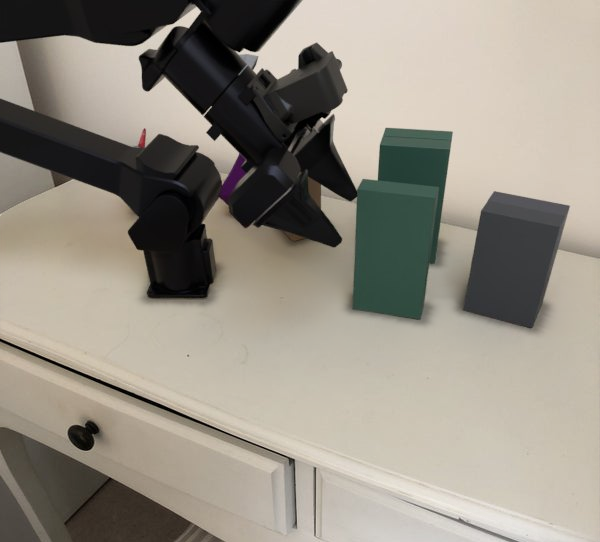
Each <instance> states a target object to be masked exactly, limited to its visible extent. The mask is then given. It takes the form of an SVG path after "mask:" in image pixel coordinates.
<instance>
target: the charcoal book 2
mask: <svg viewBox="0 0 600 542" xmlns="http://www.w3.org/2000/svg"><path fill="white" fill-rule="evenodd" d="M487 201H493V202H498V203H503V204H508V205H513V206H518V207H523V208H528V209H533V210H538V211H543V212H548V213H553V214H558V215H563V216H565V219H564V223H563V227H562V230H561V234H560V237H559V241H558V244H557V248H556V251H555V255H554V259H553V262H552V266H551V269H550V273H549V276H548V280H547V283H546V287H545V291H544V294H543V298H542V301H541V305H540V308H539V312H538V314H539V313H540V311H541V310H542V309H541V308H542V306H543V303H544V299H545V296H546V292H547V290H548V287H549V286H548V285H549V282H550V278H551V275H552V271H553V269H554V264H555V261H556V257H557V255H558V250H559V247H560V243H561V240H562V236H563V232H564V228H565V225H566V222H567V218H568V215H569V212H570V208H571V206H570V205H569V204H563V203H559V202H554V201H549V200H548V201H547V200H544V199H538V198H532V197H527V196H521V195H518V194H517V195H516V194H511V193H507V192H501V191H496V190H494V191H493V192H492V193H491V195H490V196H489V198H488V199H487Z"/></svg>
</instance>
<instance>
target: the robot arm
mask: <svg viewBox="0 0 600 542" xmlns="http://www.w3.org/2000/svg"><path fill="white" fill-rule="evenodd" d="M303 1H304V0H0V44H2V43H13V42H19V41H20V42H21V41H29V40H36V39H44V38H45V39H46V38H53V37H61V36H66V37H75V38H76V37H77V38H80V39H83V40H86V41H88V42H91V43H95V44H102V45H110V46H111V45H114V46H121V47H122V46H124V47H136V46H139V45H142V44H144V43H146V42H147V41H148V40H150V39H151V38H152V37H154V36H155V35H156V34H157V33H159V32H161V31H162V30H164V29H165V28H166V27H167V26H171V25H174V24H176V23H177V22H179V20H181V19H182V18H184V17H185V16H186V15H187V14H189V13H190V12H192V11H193V10H194V9H196V8H197V9H198V10H199V11H200V12H199V14H198V15H197V16H196V18H195V19H194V20H193V22H192V23H191V24H190V25H189V27H186V26H183V25H177V26H174V27H172V29H170V31H169V32H168V33H167V35H166V37H165V38H164V39H163V41H162V42H161V44H160V45H159V46H158V47H157V48H156V49H152V48H148V49H146V50H145V51H144V52H142V53H141V54H140V55H139V56H138V61H139V64H140V68H141V69H140V70H141V88H142V90H143V91H145V92H150V91H152V90H153V89H154V88H155V87H156V86H158V84H160V83H161V82H162V81H163V80H164V79H166V80H167V81H168V82H169V83H170V84H171V85H172V86H173V87H174V88H175V89H176V91H178V92H179V93H180V94H181V95H182V96H183V97H184V98H185V99H186V101H188V103H189V104H191V106H192V107H193V108H194V109H195V110H197V111H198V113H199V114H200V115H201V116H203V118H204V119H205V120H206V121H207V122H208V123H209V124H210V125H211V126H210V127H209V128H208V129H207V130H206V132H205V133H206V134H207V135H208V136H209V137H210V138H211V140H213V141H214V142H216V140H218V138H219V137H220V136H222V138H224V140H226V142H228V143H229V144H230V146H231V147H233V149H234V150H235V151H237V153H238V154H239V153H240V154H241V155H242V156H243V158H244V159H245V162H244V163H243V165H242V166H241V168H242V169H243V170H244V172H245V173H246V175H245V176H244V177H243V178H242V179H241V180H240V181H239V182H238V183H237V185H236V186H235V188H234V189H233V191H232V193H231V194H230V196H229V197H228V205H227V206H228V214H229V215H230V216H232V217H233V218H234V219H235V220H236V221H237V222H238V223H239V224H240V225H241V226H242V227H243V228H244V229H247V228H249V227H250V226H251V225H253V226H254V227H255V228H257V229H259V228H261V227H262V226H263V227H267V228H270V229H274V230H278V231H282V232H284V231H285V232H289V233H292V234H295V235H298V236H301V237H304V238H303V239H307V240H310V241H312V242H316V243H319V244H322V245H325V246H328V247H331V248H332V249H333V248H337V247H338V246H339V245H341V244H342V242H343V237H342V235H341V234H340V233H339V231H338V230H337V228H336V226H335V225H334V224H333V223H332V222H331V220H330V219H329V217H328V216H327V215H326V213H325V212H324V211H323V210H322V207H321V208H320V207H319V206H318V205H317V203H316V202H315V201H314V199H313V198H312V197H311V196H310V194H309V191H308V177H310V178H311V179H313V180H314V181H316V182H318V183H319V184H321V187H324V188H326V189H328V190H329V191H331V192H332V193H334V194H336V195H337V196H339V197H341V198H342V199H345V200H346V201H348V202H353V200H355V199H357V188H356V186H355V184H354V182H353V180H352V177H351V176H350V174H349V172H348V170H347V167H346V165H345V164H344V161H343V160H342V158H341V156H340V153H339V152H338V150H337V147H336V145H335V143H334V130H335V121H336V116H335V113H332V111H333V110H335V109H337V108H339V107H340V106H341V105H342V104H343V101H344V98H343V97H344V95H345V94H347V93H348V90H349V89H348V87H347V85H346V82H345V80H344V77H343V74H342V71H341V70H342V67H343V62H342V60H340V59H339V58H336V56H335V53H334V51H333V50H331V51H330V52H328V51H327V50H326V49H325V48H324V47H323V46H322V45H320V44H319V42H315V43H312V44H310V45H308V46H306V47H304V48H303V49H301V51H300V52H299V54H298V59H297V68H294V69H291V71H290V72H289V73H287V74H285V75H283V76H282V77H279V78H277V77H275V75H274V74H273V73H272V72H271V71H270V70H269V69H266V68H265V69H264V68H263V67H261V69H260V70H259V71H258V72H257V73H256V72H255V71H254V69H253V70H252V69H251V68H250V67H249V65H248V66H247V67H246V68H245V66H246V65H247V63H246V62H245V61H244V60H243V59H242V58H241V57H240V56H239V55H240V54H239V53H241V52H243V51H244V50H246V51H248V52H250V53H251V52H252V53H258V52H260V51H261V50H262V49H263V47H265V45H266V44H267V43H268V41H269V40H270V39H271V38H272V37H273V36H274V35H275V34H276V32H277V31H279V29H280V27H281V26H282V25H283V24H284V23H285V22H286V20H287V19H288V18H290V16H291V15H292V14H293V12H294V11H295V10H296V9H297V8H298V7H299V5H300V4H301V3H302V2H303ZM244 68H245V69H244ZM243 69H244V70H243ZM242 70H243V71H242ZM241 71H242V72H241ZM240 72H241V74H240ZM239 74H240V75H239ZM331 113H332V114H331ZM321 119H325V120H324V122H323V120H321ZM131 146H132V145H128V144H125V143H122V142H120V141H117V140H115V139H111V138H109V137H106V136H103V135H100V134H98V133H95V132H93V131H91V130H87V129H84V128H82V127H79V126H76V125H74V124H71V123H69V122H66V121H63V120H60V119H58V118H56V117H51V116H49V115H47V114H44V113H42V112H38V111H35V110H32V109H30V108H27V107H24V106H23V105H22V106H21V105H19V104H16V103H13V102H11V101H9V100H7V99H3V98H0V153H1V154H2V155H6V156H9V157H12V158H15V159H17V160H20V161H22V162H25V163H28V164H31V165H33V166H36V167H39V168H41V169H45V170H47V171H51V172H53V173H55V174H58V175H61V176H64V177H66V178H69V179H71V180H74V181H78V182H80V183H83V184H85V185H89V186H91V187H94V188H96V189H100V190H102V191H105V192H107V193H110V194H113V195H114V196H115V195H116V196H117V197H119V198H120V199H121V200H122V201H123V203H125V205H126V206H127V207H128V208H129V209H130V210H131V211H132V213H134V214H135V215H136V217H138V218H137V219H136V220H135V221H134V222H133V224H132V225H131V226H130V227H129V229H127V235H128V236H129V238H130V240H131V242H132V244H133V245H134V247H135V248H136V250H138V251H142V252H143V257H144V263H145V265H146V270H147V276H148V281H149V285H148V288H147V290H146V297H147V298H149V299H206V298H207V297H208V296H209V292H210V289H211V286H212V285H213V284H214V283H215V279H216V275H217V270H218V269H217V264H216V255H215V254H216V253H215V247H214V240H213V239H212V238H211V237H208V234H207V226H206V224H205V223H204V222H205V221H204V220H205V219H206V218H207V217H208V215H209V213H210V212H211V211H212V209H213V207H214V206H215V205H216V203H217V201H218V200H219V199H220V197H219V196H220V194H221V191H222V184H223V180H222V177H221V173H220V171H219V170H218V168H217V166H216V163H215V162H214V160H213V159H211V158H210V157H209V156H207V155H205V154H204V153H201V152H197V151H198V150H199V149H200V146H199V145H198V144H190V145H189V144H185V143H182V142H179V141H178V140H176V139H174V138H172V137H170V136H168V135H165V134H162V133H158V134H157V135H156V136H155V137H154V138H153V139H152V140H151V141H149V143H148V144H147V145H145V147H144V148H136V147H131ZM300 172H301V174H300V175H299V173H300ZM298 175H299V176H298ZM285 232H284V233H285Z"/></svg>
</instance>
